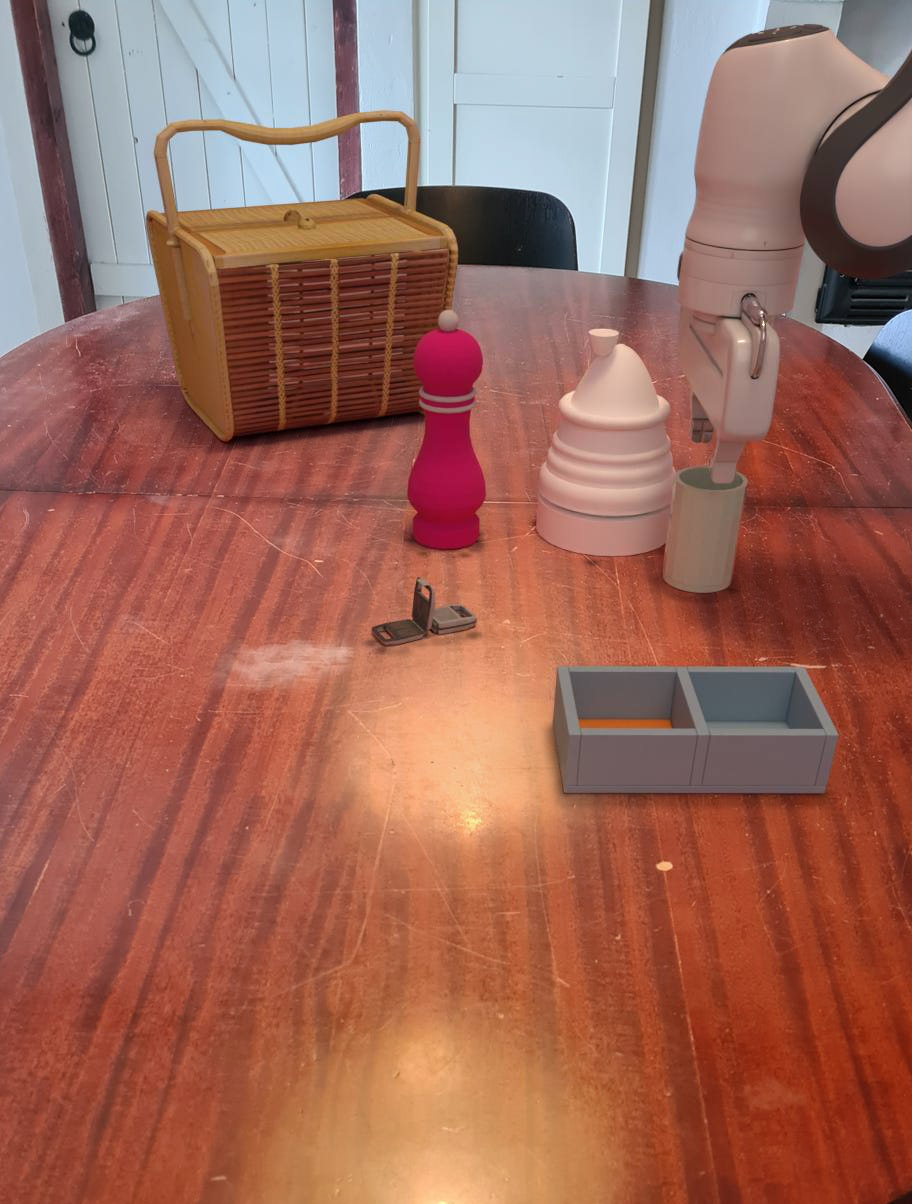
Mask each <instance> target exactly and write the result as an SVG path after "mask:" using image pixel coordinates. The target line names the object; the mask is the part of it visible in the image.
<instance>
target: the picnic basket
mask: <svg viewBox="0 0 912 1204" xmlns="http://www.w3.org/2000/svg"><path fill="white" fill-rule="evenodd" d="M378 122H397V123H399V124H400V125H401V126H403V127H404V128H405V130H406V135H407V138H408V140H407V155H406V157H407V158H406V171H405V172H406V173H405V187H404V205H402V204H401V203H398V202H396V201H394V200H390V199H389V198H386V197H384V196H382V195H379V194H377V193H372V194H369V195H368V196H367V197H366V198H363V197H361V198H347V199H332V200H320V201H319V200H317V201H306V202H305V201H304V202H293V203H292V202H291V203H279V204H278V203H276V204H265V205H264V204H263V205H251V206H250V205H249V206H238V207H224V208H222V207H221V208H210V209H196V210H183V211H181V210H180V211H178V210H177V202H176V197H175V193H174V187H173V181H172V175H171V169H170V164H169V160H168V153H167V151H168V146H169V145H168V144H169V141H170V140H171V139H172V138H173V137H174V136H176V134H179V133H186V132H210V131H211V132H213V131H215V132H217V131H220V132H221V133H225V134H226V135H229V136H232V137H233V138H236V139H239V140H240V141H245V142H250V143H253V144H254V143H255V144H259V145H260V144H261V145H267V146H294V145H295V146H296V145H305V144H311V143H313V144H314V143H317V142H321V141H324V140H327V139H330V138H331V139H332V138H334V137H338V136H340V135H342V134H344V133H346V132H348V131H349V130H350V129H353V128H354V127H355V126H357V125H359V124H367V123H378ZM420 149H421V136H420V132H419V128H418V124H417V122H416V121H415V120H414V119H413V118H411V116H409V115H407V114H406V113H405V112H404V111H402V110H400V111H399V110H385V109H383V110H382V109H381V110H372V111H361V112H354V113H351V114H347V115H344V116H340V117H335V118H332V119H329V120H325V121H322V122H319V123H315V124H313V125H303V126H296V127H295V126H294V127H269V126H268V127H267V126H262V125H257V124H253V123H246V122H240V121H234V120H227V119H222V118H216V119H212V118H211V119H207V118H206V119H185V120H179V121H173V122H170V123H168V124H167V126H165V127H164V128H163V129H162V130H161V131H159V133H157V134H156V136H155V141H154V147H153V157H154V163H155V168H156V173H157V179H158V184H159V189H160V195H161V200H162V205H163V206H162V207H163V212H159V211H158V210H154V209H151V210H148V211H147V212H146V214H145V229H146V235H147V240H148V244H149V250H150V255H151V259H152V264H153V269H154V273H155V278H156V283H157V289H158V292H159V293H158V294H159V298H160V301H161V303H160V304H161V306H162V312H163V317H164V322H165V325H166V331H167V336H168V340H169V347H170V349H171V355H172V360H173V364H174V369H175V374H176V378H177V381H178V385H179V387H180V390H181V393H182V395H183V398H184V400H185V401H186V403H187V405H188V406H189V407H190V409H191V410H192V411H193V412H194V413H195V414H196V415H197V416H198V417H199V418H200V419H201V421H203V423H204V424H205V425H206V426H207V427H208V428H209V429H210V430H211V432H213V434H214V435H215V437H217V438H218V439H219V440H221V441H222V442H227V443H228V442H229V441H230V440H232V439H233V437H234V438H235V437H241V436H249V435H256V434H263V433H264V434H265V433H271V432H278V431H279V432H281V431H285V430H293V429H294V430H295V429H301V428H307V427H308V428H309V427H316V426H323V425H328V424H329V425H330V424H338V423H344V422H345V423H346V422H353V421H359V420H366V419H373V418H375V419H376V418H381V417H389V416H396V415H402V414H403V415H404V414H411V413H419V414H421V415H425V413H424V409H423V408H422V407H421V406H420V405H419V400H420V399H421V398H420V394H419V390H420V388H421V387H422V386H423V384H422V382H421V381H420V380H419V378H418V377H417V375H416V373H415V371H414V366H413V358H414V353H415V349H416V347H417V344H418V343H419V341H420V340H421V338H422V337H424V336H425V335H426V334H427V333H429V332H431V331H433V330H436V329H441V328H440V327H439V324H438V318H439V315H440V314H441V313H442V312H443V311H445V310H452V307H453V301H454V292H455V285H456V279H457V272H458V271H457V270H458V263H459V247H458V241H457V237H456V235H455V233H454V230H453V229H452V228H450V226H449V225H447V224H446V223H443V222H441V221H438V220H436V219H435V218H432V217H429V216H427V215H425V214H423V213H421V212H418V211H416V210H417V195H418V179H419V166H420V165H419V164H420V152H421V151H420Z"/></svg>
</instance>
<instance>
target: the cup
mask: <svg viewBox="0 0 912 1204" xmlns="http://www.w3.org/2000/svg"><path fill="white" fill-rule="evenodd" d="M709 468H710V465H695V466H687V467H684V468H682V469H679V470H677V471H676V474H675V476H674V482H673V490H672V498H671V506H670V514H669V522H668V530H667V538H666V543H665V547H664V554H663V562H662V579H663V581H664V582H665V583H666V584H667V585H668V586H670V587H671V588H672V587H673V588H674V589H678V590H679V591H680V590H681V591H684V592H689V593H696V594H710V593H717V592H720V591H723V590H725V589H727V588H728V587H729V586H730V585H731V583H732V580H733V576H734V571H735V565H736V558H737V552H738V546H739V539H740V535H741V527H742V522H743V517H744V516H743V515H744V510H745V509H744V508H745V503H746V497H747V490H748V485H749V480H748V478H747V477H746V475H744V474H743V473H742V472H739V471H737V470H736V472H735V477H734V480H733V481H732V482H731V483H728V484H725V483H714V482H713V481H712V479H711V477H710V474H709Z"/></svg>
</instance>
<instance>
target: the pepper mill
mask: <svg viewBox="0 0 912 1204" xmlns="http://www.w3.org/2000/svg"><path fill="white" fill-rule="evenodd" d="M438 324H439V327H440V328H441V329H436V330H433V331H431V332H429V333H427V334H426V335H425V336H424V337H422V338H421V340H420V341H419V343H418V344H417V347H416V349H415V353H414V358H413V366H414V371H415V373H416V375H417V377H418V378H419V380H420V381H421V382H422V384H423V386H422V387H421V388H420V390H419V394H420V398H421V399H420V400H419V405H420V406H421V407H422V408H423V409H424V413H425V414H424V433H423V439H422V441H421V442H422V443H421V446H420V449H419V451H418V454H417V455H416V458H415V460H414V463H413V465H412V467H411V470H410V473H409V476H408V481H407V491H406V492H407V493H406V494H407V499H408V502H409V504H410V505H411V507H412V508H413V509H414V510H415V511H416V512H417V513H415V514H414V515H413V517H412V537H413V539H414V540H415V541H416V542H417V543H418V544H420V545H422V546H424V547H427V548H430V549H437V550H456V549H462V548H466V547H469V546H471V545H474V544H475V543H476V542H477V541H478V540H479V538H480V529H481V527H480V526H481V525H480V523H481V521H480V520H481V519H480V517H479V516H478V514H477V512H478V510H479V509H480V508H481V507H482V506H483V505H484V502H485V500H486V496H487V492H486V489H487V487H486V480H485V476H484V472H483V468H482V466H481V464H480V461H479V460H478V458H477V455H476V453H475V449H474V447H473V443H472V438H471V427H470V426H471V425H470V424H471V423H470V421H471V415H472V414H471V413H472V410H473V409H474V408H475V407H476V406H477V401H476V395H477V389H476V387H474V386H473V385H474V384H475V383H476V381H477V380H478V379H479V378H480V376H481V374H482V372H483V367H484V357H483V351H482V348H481V346H480V344H479V342H478V340H477V339H475V337H474V336H473V335H471V333H469V332H467V331H465V330H462V329H460V328H458V327H459V324H460V319H459V315H458V314H457V313H456V312H455V311H454V310H452V309H451V310H445V311H443V312H442V313H441V314H440V315H439V318H438Z"/></svg>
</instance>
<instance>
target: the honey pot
mask: <svg viewBox="0 0 912 1204" xmlns="http://www.w3.org/2000/svg"><path fill="white" fill-rule="evenodd" d="M619 336H620V332H619V331H617V330H615V329H611V328H594V329H590V330H589V331H588V342H589V346H590V348H591V350H592V352H593V353H594V354H595V355H596V358H595V359H594V360H593V361H592V363H591V364H590V365H589V366H588V368H587V369H586V371H585V372H584V374H583V376H582V377H581V378H580V380H579V383H578V384H577V386H576V388H575V389H574V390H571V391H569V392H568V393H565V394H564V395H563V396H562V397H561V398H560V399H559V400H558V406H557V407H558V408H557V409H558V412H559V413H560V414H561V416H562V417H561V420H560V422H559V425H558V427H557V429H556V430H555V432H554V433H553V434H552V442H551V446H550V447H549V448H547V449H548V450H547V454H546V460H545V461H544V462H543V463H542V464H541V466H540V469H539V474H538V489H537V491H538V492H537V502H536V503H537V504H536V506H537V507H536V523H535V530H536V532H537V533H538V535H539V537H541V538H542V539H543V540H544V541H546V542H547V543H548V544H550V545H553V546H555V547H557V548H559V549H562V550H565V551H569V552H572V553H577V554H582V555H588V556H589V555H590V556H595V557H596V556H598V557H625V556H633V555H639V554H645V553H648V552H651V551H654V550H657V549H659V548H661V547H662V546H664V545H666V538H667V530H668V522H669V514H670V506H671V498H672V490H673V482H674V476H675V474H676V473H677V471H676V469H675V467H674V459H673V453H672V450H671V448H672V442H671V438H670V437H669V435H668V434H667V430H666V425H665V421H666V420H667V419H668V418H669V416H670V415H671V412H672V411H671V405H670V402H669V401H667V400H666V399H665V398H664V397H662V396H661V395H659V394H657V391H656V388H655V385H654V382H653V380H652V377H651V374H650V372H649V370H648V368H647V367H646V365H645V363H644V361H643V359H642V358H641V357H640V356H639V354H638V353H637V352H636V351H635V350H634V349H632V348H631V347H629V346H628V345H626V344H624V343H618V340H619ZM617 343H618V344H617Z"/></svg>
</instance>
